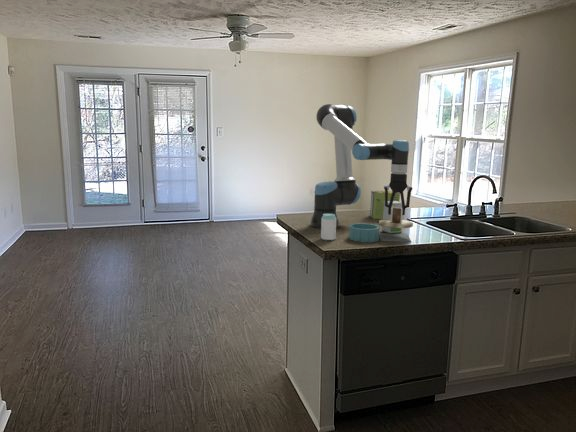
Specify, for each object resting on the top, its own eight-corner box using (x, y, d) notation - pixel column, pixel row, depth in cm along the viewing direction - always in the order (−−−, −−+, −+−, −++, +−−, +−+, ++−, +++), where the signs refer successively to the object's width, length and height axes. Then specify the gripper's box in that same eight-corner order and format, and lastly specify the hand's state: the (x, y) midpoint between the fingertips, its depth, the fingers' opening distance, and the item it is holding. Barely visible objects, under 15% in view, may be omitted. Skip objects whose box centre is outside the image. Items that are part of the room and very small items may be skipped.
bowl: (349, 241, 224) (349, 228, 223) (349, 234, 237) (349, 222, 236) (379, 242, 222) (380, 230, 221) (377, 235, 236) (378, 224, 235)
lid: (380, 227, 224) (381, 210, 222) (377, 220, 239) (378, 204, 238) (414, 228, 222) (416, 211, 220) (410, 222, 238) (411, 206, 236)
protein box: (398, 219, 279) (400, 193, 276) (372, 218, 279) (373, 192, 276) (395, 216, 289) (396, 190, 286) (369, 215, 289) (371, 190, 286)
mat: (381, 240, 226) (381, 239, 226) (379, 234, 240) (379, 233, 240) (411, 242, 224) (411, 241, 224) (407, 235, 238) (407, 234, 238)
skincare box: (389, 233, 242) (391, 203, 239) (381, 230, 248) (383, 201, 245) (402, 232, 246) (404, 202, 243) (393, 229, 251) (395, 200, 249)
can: (334, 237, 230) (335, 213, 228) (336, 241, 223) (337, 216, 221) (320, 237, 230) (320, 212, 228) (321, 240, 223) (322, 215, 221)
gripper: (381, 173, 223) (378, 222, 228) (418, 174, 221) (414, 223, 226) (380, 171, 231) (377, 219, 235) (416, 173, 229) (412, 220, 233)
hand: (395, 221), depth 230 cm, fingers closed on lid, 4 cm apart
